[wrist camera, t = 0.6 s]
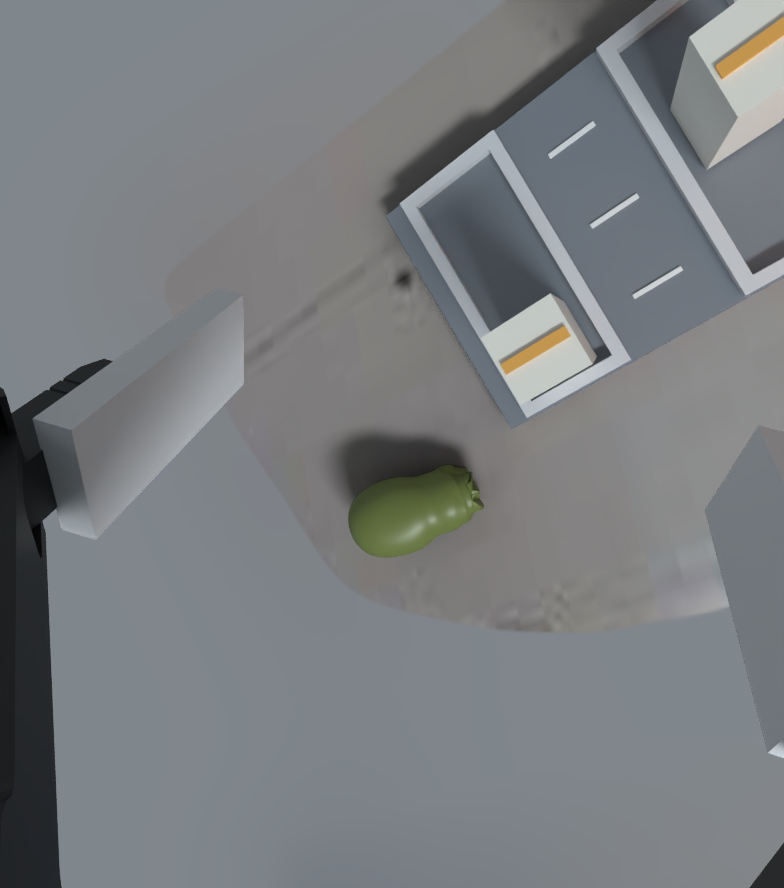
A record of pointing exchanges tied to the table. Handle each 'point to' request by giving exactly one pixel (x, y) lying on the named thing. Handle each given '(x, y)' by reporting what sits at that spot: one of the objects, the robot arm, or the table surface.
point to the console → (599, 212)
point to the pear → (412, 510)
